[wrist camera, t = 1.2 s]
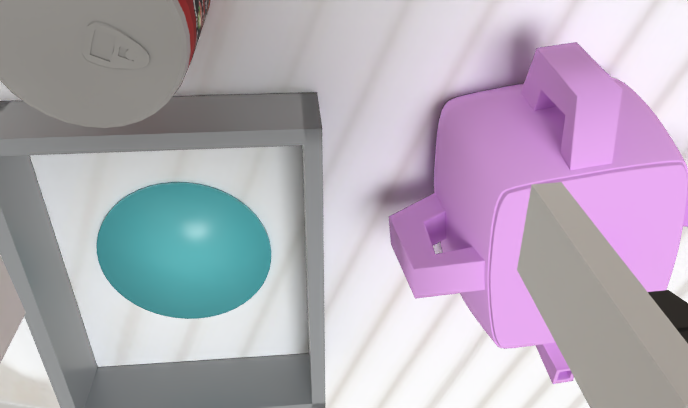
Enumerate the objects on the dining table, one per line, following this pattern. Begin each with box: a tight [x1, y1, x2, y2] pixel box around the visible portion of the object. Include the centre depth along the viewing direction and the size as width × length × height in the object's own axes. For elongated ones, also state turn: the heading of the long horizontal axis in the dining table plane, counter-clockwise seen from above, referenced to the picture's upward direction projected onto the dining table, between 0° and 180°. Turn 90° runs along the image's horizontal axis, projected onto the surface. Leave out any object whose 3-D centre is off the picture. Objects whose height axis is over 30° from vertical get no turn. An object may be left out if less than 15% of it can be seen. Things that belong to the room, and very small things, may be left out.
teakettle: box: [389, 42, 688, 384], centre depth 36 cm, size 17×17×12 cm
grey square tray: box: [0, 93, 325, 408], centre depth 40 cm, size 24×19×5 cm
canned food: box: [0, 0, 210, 128], centre depth 27 cm, size 8×8×11 cm
